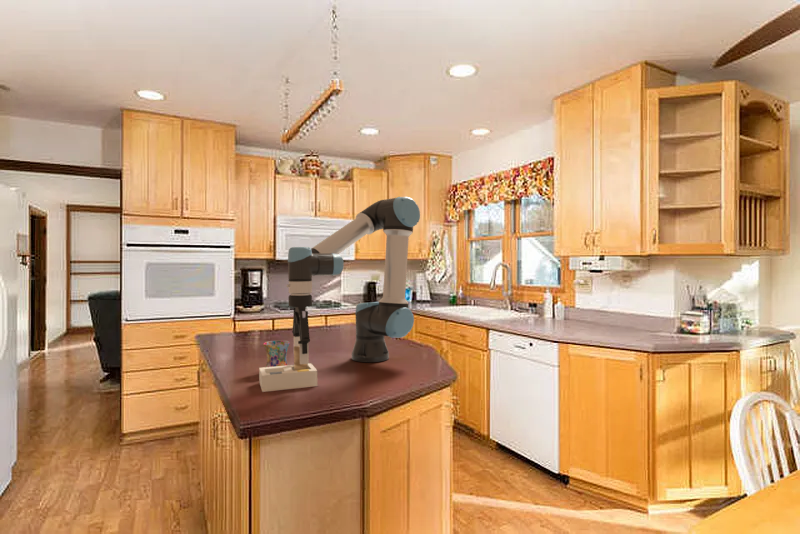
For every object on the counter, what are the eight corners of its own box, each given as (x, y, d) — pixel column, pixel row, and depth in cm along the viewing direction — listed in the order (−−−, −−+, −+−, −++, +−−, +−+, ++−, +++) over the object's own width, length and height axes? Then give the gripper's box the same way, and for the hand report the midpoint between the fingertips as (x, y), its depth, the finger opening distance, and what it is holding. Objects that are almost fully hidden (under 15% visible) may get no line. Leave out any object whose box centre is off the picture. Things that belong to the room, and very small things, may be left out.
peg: (306, 377, 153) (306, 345, 153) (308, 381, 149) (308, 347, 149) (293, 379, 151) (293, 345, 151) (295, 382, 147) (295, 348, 147)
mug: (291, 373, 163) (291, 344, 163) (264, 376, 159) (264, 345, 159) (287, 366, 174) (287, 338, 174) (261, 368, 171) (261, 340, 170)
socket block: (311, 377, 157) (311, 362, 157) (317, 386, 147) (317, 369, 146) (259, 382, 151) (259, 367, 151) (262, 391, 140) (261, 375, 140)
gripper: (283, 292, 160) (284, 353, 160) (294, 297, 137) (294, 368, 137) (305, 291, 163) (305, 351, 163) (319, 296, 140) (319, 366, 140)
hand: (300, 359), depth 150 cm, fingers open, 12 cm apart
